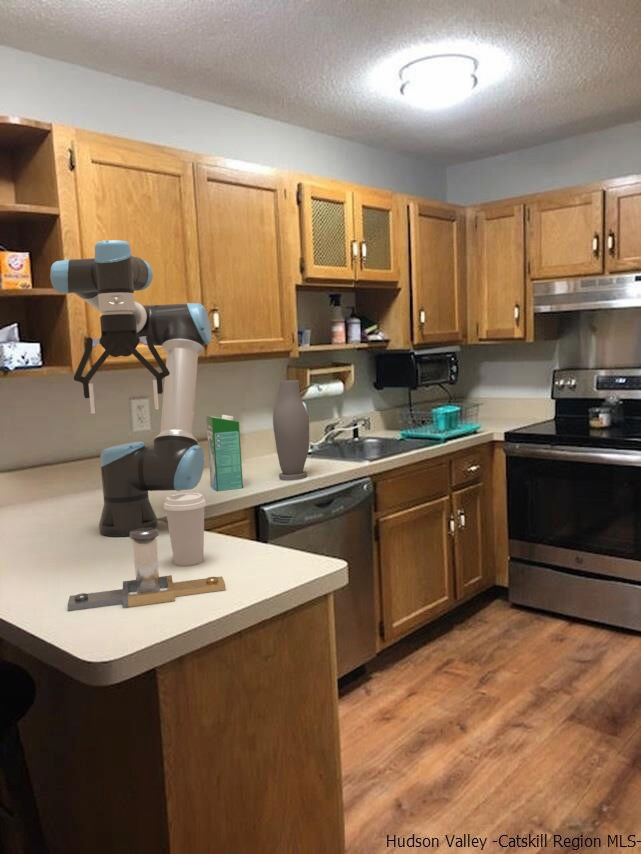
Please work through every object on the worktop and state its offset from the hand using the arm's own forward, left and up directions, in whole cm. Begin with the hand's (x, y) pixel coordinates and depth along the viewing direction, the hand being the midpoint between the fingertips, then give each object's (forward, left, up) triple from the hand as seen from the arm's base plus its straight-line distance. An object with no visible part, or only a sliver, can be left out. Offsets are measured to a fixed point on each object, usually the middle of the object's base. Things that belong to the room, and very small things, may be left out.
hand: (125, 411), depth 155 cm
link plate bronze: (+23, +8, -35) cm, 42 cm away
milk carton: (-76, +30, -35) cm, 89 cm away
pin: (+23, +2, -35) cm, 42 cm away
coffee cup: (+4, +11, -35) cm, 37 cm away
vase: (-83, +55, -35) cm, 105 cm away
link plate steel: (+23, -4, -35) cm, 42 cm away
